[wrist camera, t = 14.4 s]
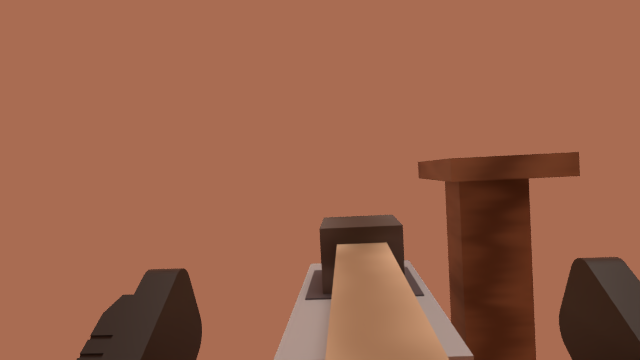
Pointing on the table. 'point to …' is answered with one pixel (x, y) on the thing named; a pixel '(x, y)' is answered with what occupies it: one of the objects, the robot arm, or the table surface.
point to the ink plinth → (314, 311)
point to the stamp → (372, 293)
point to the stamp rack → (493, 247)
